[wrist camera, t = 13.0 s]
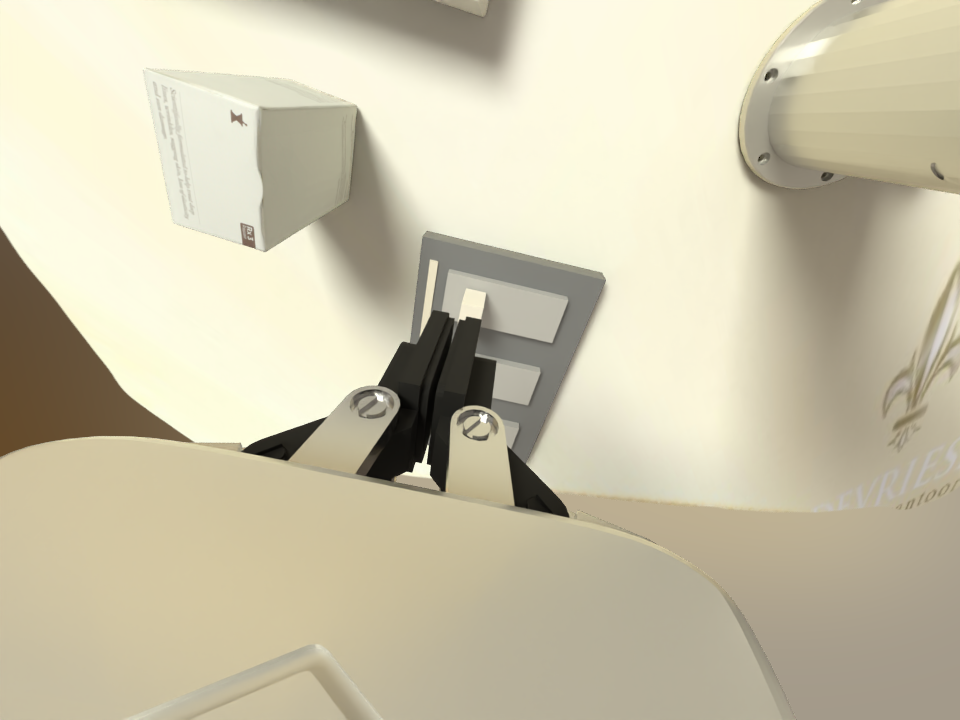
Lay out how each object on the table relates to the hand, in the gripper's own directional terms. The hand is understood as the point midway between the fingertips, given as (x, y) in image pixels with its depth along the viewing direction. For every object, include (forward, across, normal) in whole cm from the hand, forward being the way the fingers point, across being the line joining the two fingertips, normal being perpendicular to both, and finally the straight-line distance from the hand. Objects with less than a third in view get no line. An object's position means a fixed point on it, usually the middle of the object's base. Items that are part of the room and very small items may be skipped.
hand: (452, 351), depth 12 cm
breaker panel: (+25, -2, +18) cm, 31 cm away
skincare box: (+25, +16, -2) cm, 30 cm away
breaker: (+22, +1, +9) cm, 24 cm away
